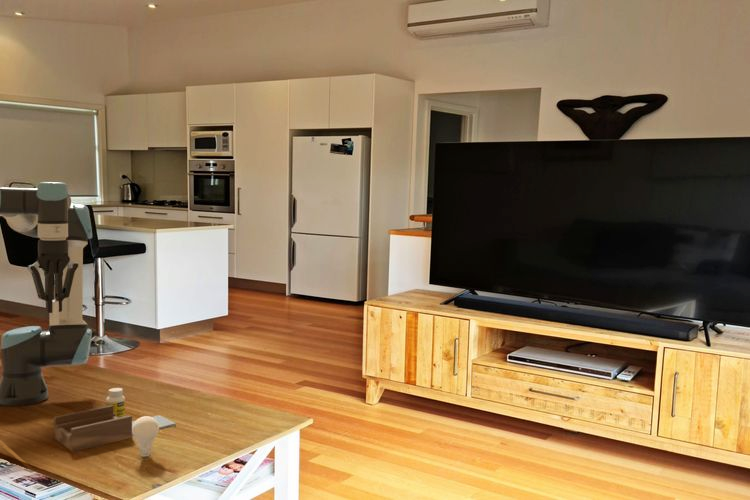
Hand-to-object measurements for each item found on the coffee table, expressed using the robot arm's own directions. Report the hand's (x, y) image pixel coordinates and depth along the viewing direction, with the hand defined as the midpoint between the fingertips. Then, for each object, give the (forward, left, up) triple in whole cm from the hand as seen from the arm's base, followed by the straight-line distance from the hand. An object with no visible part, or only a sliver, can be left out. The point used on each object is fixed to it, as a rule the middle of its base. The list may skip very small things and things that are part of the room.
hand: (54, 324), depth 188 cm
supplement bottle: (-1, +18, -32) cm, 37 cm away
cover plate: (+11, +21, -32) cm, 40 cm away
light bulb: (+31, +11, -32) cm, 46 cm away
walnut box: (+11, +6, -32) cm, 34 cm away
